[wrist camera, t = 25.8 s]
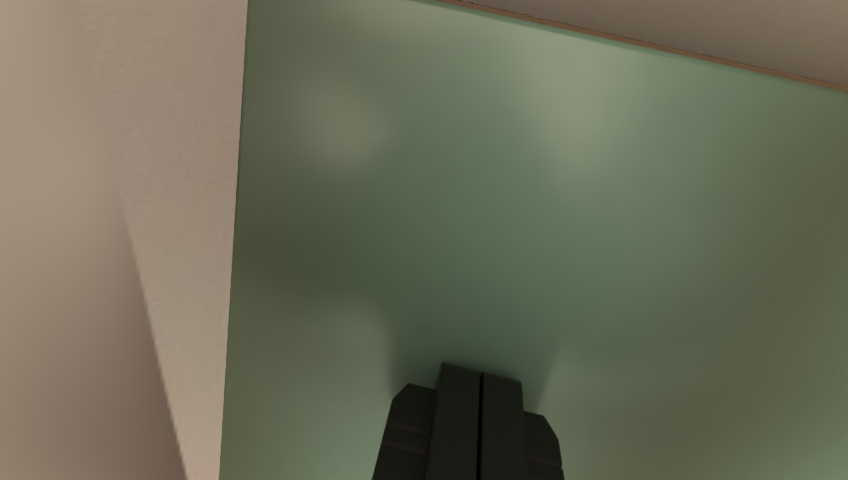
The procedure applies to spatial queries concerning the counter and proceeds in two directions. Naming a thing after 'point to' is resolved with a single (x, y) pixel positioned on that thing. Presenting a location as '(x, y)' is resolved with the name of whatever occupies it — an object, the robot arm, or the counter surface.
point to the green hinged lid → (533, 245)
